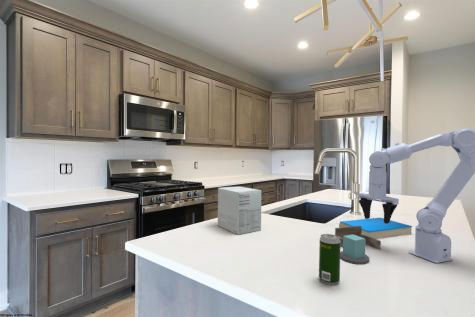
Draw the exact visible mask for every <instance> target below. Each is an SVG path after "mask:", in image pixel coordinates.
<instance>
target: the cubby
mask: <svg viewBox="0 0 475 317" xmlns="http://www.w3.org/2000/svg"><path fill="white" fill-rule="evenodd" d="M334 235H336V236H339V237H340V242H341V244H340V248H343V236H346V235H356V236H359V237H362V238H365V245H367V246H370V247H373V248H375V249H376V250H381V247H382V242H381V240H380V239H378V238H377V239H374V238H372V237H369V236H366V235H364V234H362V226H350V227H340V228H339V227H335V228H334Z"/></svg>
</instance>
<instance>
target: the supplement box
mask: <svg viewBox="0 0 475 317" xmlns="http://www.w3.org/2000/svg"><path fill="white" fill-rule="evenodd" d="M217 226H218V227H221V228H224V230H227V231H229V232H231V233H233V234H235V235H243V234H249V233H254V232H257V231H262V189H257V188H251V187H245V186H225V187H224V186H223V187H217Z"/></svg>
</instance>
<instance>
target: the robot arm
mask: <svg viewBox="0 0 475 317" xmlns="http://www.w3.org/2000/svg"><path fill="white" fill-rule="evenodd" d="M437 146H439V147H451V148H452V149H454V151H455V152H456V153H457V155H458V158H459V160H460V161H459V163H458V164H457V165H456V166H455V168H454V170H452V172H451V173H450V175H449V176H448V177H447V179H446V180H445V181H444V183H443V184H442V186H441V187H440V188H439V190H438V191H437V193H436V194H434V195H435V196H433V198H432V199H431V200H429V202H428V203H427V204H426V206H425V207H423V208H420V209H419V210H418V211H417V212H416V220H417V222H418V223H417V225H416V226H415V236H414V238H415V239H414V240H415V241H414V250H410V251H408V254H411V255H413V256H416V257H419V258H422V259H425V260H426V261H429V262H432V263H434V264H439V263H445V262H450V261H453V258H452V239H451V237H450V236H449V235H447V234H444V233H443V232H442V229H441V228H442V227H443V226H442V225H443V220H444V218H445V216H446V215H447V212H448V210H449V208H450V206H451V205H452V204H453V203H454V201H455V200H456V199H457V197H458V196H459V195H460V193H461V192H462V191H463V190H464V188H465V186H467V184H468V183H469V181H470V180H471V179H472V177H473V176H474V175H475V129H472V128H469V127H466V128H462V129H459V130H452V131H448V132H442V133H439V134H436V135H433V136H431V137H428V138H425V139H422V140H420V141H417V142H414V143H410V144H407V143H405V142H402V143H400V142H397V143H395V144H394V145H392V146H389V147H387V148H385V147H383V148H380V150H376V151H373V152H372V153H371V154H370V155H369V157H368V161H369V162H368V163H369V171H368V174H369V175H368V193H364V192H361V193H359V192H358V193H357V198H358V203H359V204H360V207H361V209H362V212H363V216H364V219H370V218H371V208H372V202H373V201H375V202H380V203H382V204H381V206H382V209H383V218H384V223H385V224H387V223H389V222H390V220H391V218H392V216H393V214H394V212H395V210H396V208H397V206H398V205H399V201H400V200H399V198H396V197H391V196H387V174H388V173H387V171H386V170H387V164H389V165H391V164H395V163H399V162H401V161H404V160H407V159H410V158H411V156H412V154H414V153H418V152H420V151H424V150H427V149H431V148H434V147H437Z"/></svg>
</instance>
